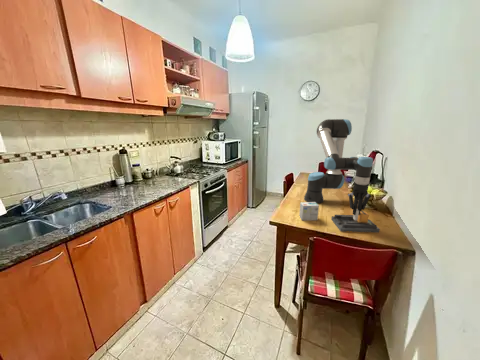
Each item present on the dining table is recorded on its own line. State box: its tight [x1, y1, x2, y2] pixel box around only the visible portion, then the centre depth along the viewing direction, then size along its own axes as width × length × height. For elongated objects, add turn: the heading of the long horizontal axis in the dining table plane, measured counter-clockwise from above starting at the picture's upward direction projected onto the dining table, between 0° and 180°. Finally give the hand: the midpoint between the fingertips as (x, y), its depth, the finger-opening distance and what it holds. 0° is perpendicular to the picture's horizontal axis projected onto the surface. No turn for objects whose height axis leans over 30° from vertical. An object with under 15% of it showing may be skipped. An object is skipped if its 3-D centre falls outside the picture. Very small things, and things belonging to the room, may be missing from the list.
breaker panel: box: [331, 215, 381, 234], centre depth 125 cm, size 15×22×4 cm
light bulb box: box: [298, 201, 320, 221], centre depth 134 cm, size 11×7×11 cm, turn 92°
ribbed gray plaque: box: [333, 214, 378, 228], centre depth 125 cm, size 14×20×2 cm
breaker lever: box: [357, 210, 370, 222], centre depth 124 cm, size 5×4×7 cm
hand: (355, 219), depth 125 cm, fingers closed
